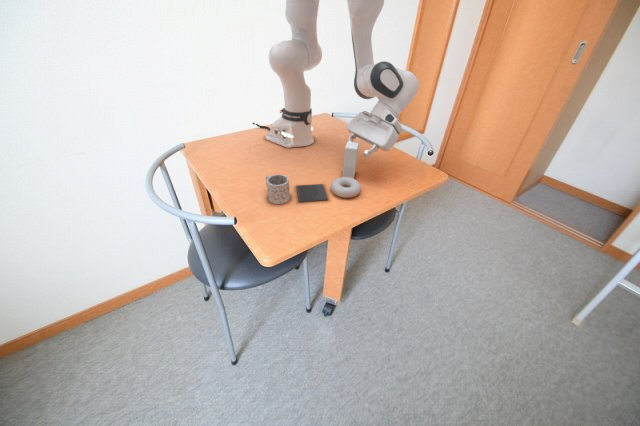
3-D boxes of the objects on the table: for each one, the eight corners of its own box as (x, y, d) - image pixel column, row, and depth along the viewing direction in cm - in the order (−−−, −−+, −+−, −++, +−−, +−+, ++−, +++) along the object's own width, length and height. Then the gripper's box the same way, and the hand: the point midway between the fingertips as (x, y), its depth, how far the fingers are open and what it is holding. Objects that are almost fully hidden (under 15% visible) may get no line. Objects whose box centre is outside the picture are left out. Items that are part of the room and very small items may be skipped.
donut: (357, 183, 95) (328, 183, 94) (358, 175, 93) (329, 174, 92) (363, 199, 87) (332, 200, 86) (364, 190, 85) (333, 190, 84)
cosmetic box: (353, 181, 96) (357, 149, 89) (341, 179, 97) (344, 148, 89) (355, 173, 101) (359, 142, 94) (344, 171, 101) (347, 141, 94)
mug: (293, 198, 86) (293, 180, 82) (276, 206, 83) (274, 188, 79) (276, 185, 92) (274, 168, 88) (259, 192, 88) (256, 174, 84)
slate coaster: (322, 185, 93) (322, 184, 93) (327, 200, 86) (327, 198, 86) (296, 187, 92) (296, 185, 91) (299, 202, 85) (299, 200, 84)
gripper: (358, 104, 97) (334, 135, 98) (400, 121, 83) (372, 157, 85) (366, 115, 102) (343, 144, 103) (407, 132, 88) (380, 166, 90)
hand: (356, 150), depth 94 cm, fingers open, 8 cm apart
